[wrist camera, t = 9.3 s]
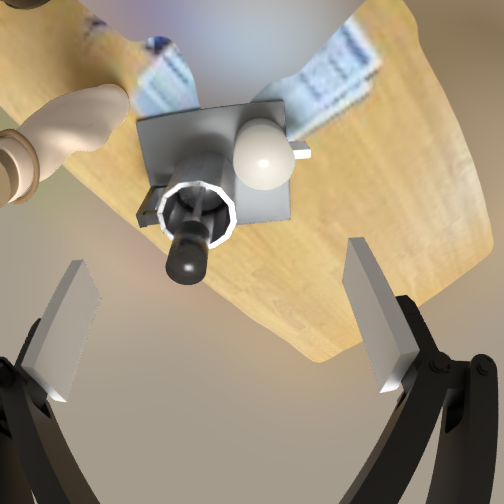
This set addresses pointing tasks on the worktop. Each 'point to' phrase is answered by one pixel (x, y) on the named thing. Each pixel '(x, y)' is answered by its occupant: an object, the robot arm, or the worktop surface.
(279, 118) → the slate board
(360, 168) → the worktop surface
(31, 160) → the water bottle
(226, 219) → the press carafe
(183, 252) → the plunger
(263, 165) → the cream mug
